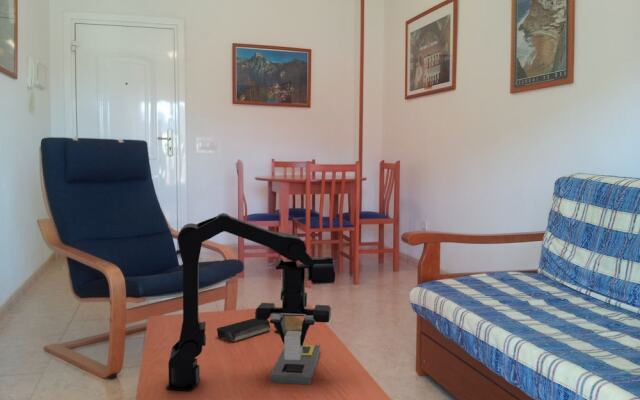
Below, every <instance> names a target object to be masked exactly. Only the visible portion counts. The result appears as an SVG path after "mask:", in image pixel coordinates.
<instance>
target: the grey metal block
mask: <svg viewBox="0 0 640 400" xmlns="http://www.w3.org/2000/svg"><path fill="white" fill-rule="evenodd" d="M283 346H284V347H283V348H284V359H287V360H300V359H301V357H302V354H303V346H301V331H287V332H286V334H285V336H284V344H283Z"/></svg>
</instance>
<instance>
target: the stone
mask: <svg viewBox="0 0 640 400" xmlns="http://www.w3.org/2000/svg"><path fill="white" fill-rule="evenodd" d="M302 322H303V319H302V318H301V319H300V318H299V316H285V328H286V332H287V331H302ZM273 327H274V329H275V330H276V331H278V330H277V329H276V327H275V325H274V324H273Z"/></svg>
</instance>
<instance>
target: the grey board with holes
mask: <svg viewBox="0 0 640 400" xmlns="http://www.w3.org/2000/svg"><path fill="white" fill-rule="evenodd" d="M320 354H321V345H320V344H319V345H318V344H317V345H316V344H303V354H302V357H301V359H300V360H287V359H284V347H283V349H282V351H281V353H280V354H279V357H278V359H277V361H276V362H275V365H274V366H273V368H272V371H271V373H270V375H269V376H270V377H269V378H270V381H269V382H270V383H271V384H273V383H274V384H288V385H289V384H293V385H306V386H307V385H311V382H312V380H313V378H314V377H313V376H314V373H315V370H316V367H317V363H318V360H319V357H320Z"/></svg>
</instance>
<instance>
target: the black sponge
mask: <svg viewBox="0 0 640 400" xmlns="http://www.w3.org/2000/svg"><path fill="white" fill-rule="evenodd" d="M270 329H271V323H270V320H269V319H267V320H257V319H255V317H254V318H251V319H247V320H242V321H240V322H235V323H231V324H228V325H224V326H220V327H218V328H217V327H216V332H217V337H219V338H221V339H225V340H227V341H230V342H231V341H232V342H236V341H239V340H243V339H246V338H249V337H252V336H255V335H259V334H262V333H265V332H269V330H270Z"/></svg>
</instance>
